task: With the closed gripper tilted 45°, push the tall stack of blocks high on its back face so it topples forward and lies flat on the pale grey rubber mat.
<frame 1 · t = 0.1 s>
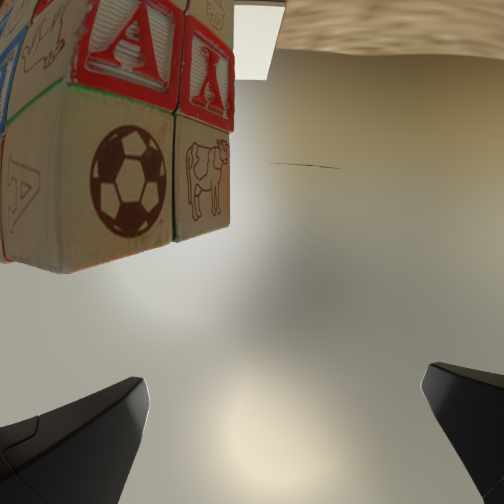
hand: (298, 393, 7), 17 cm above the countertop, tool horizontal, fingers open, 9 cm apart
stack of blocks: (40, 12, 7), on the countertop, touching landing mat
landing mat: (120, 59, 17), on the countertop
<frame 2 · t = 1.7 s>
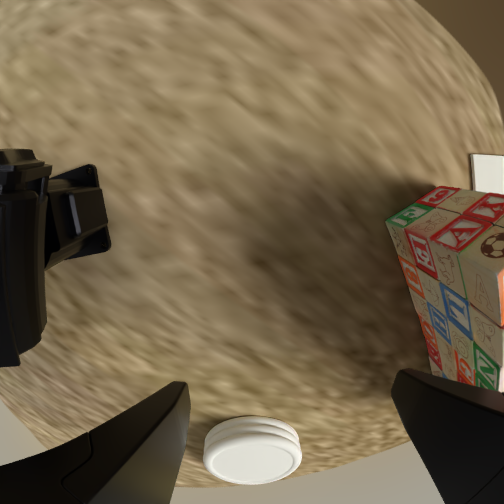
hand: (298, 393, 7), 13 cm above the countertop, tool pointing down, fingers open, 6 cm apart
stack of blocks: (443, 304, 22), on the countertop, touching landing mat
white ridged disc: (251, 440, 26), on the countertop
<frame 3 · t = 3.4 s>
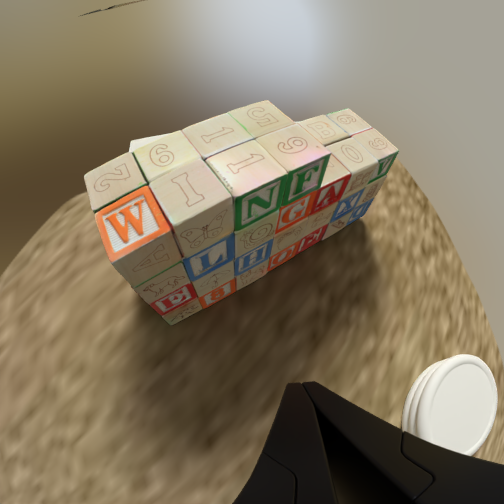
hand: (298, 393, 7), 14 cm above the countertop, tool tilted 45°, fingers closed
stack of blocks: (261, 240, 26), on the countertop, touching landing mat
white ridged disc: (441, 412, 18), on the countertop
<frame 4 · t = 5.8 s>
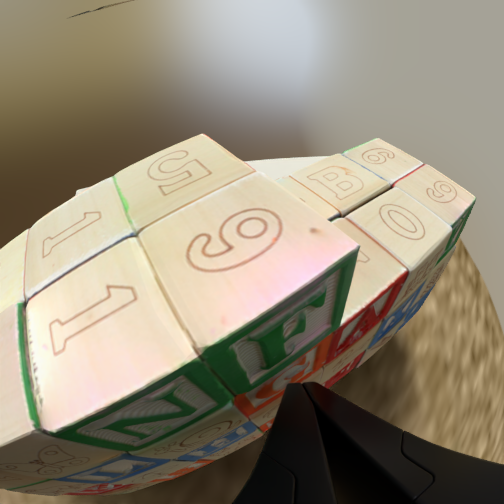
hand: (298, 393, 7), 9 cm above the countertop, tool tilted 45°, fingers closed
stack of blocks: (257, 377, 15), point 1 cm above the countertop, touching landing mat
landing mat: (216, 234, 21), on the countertop
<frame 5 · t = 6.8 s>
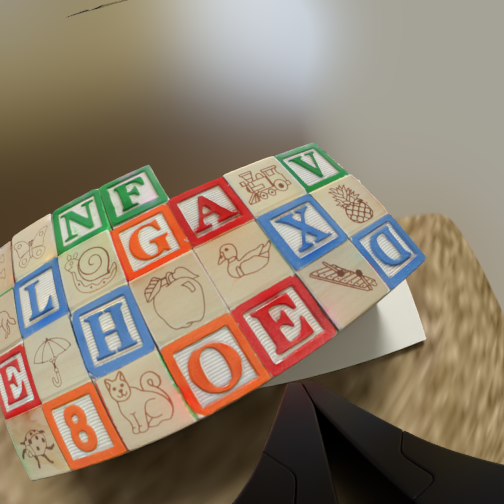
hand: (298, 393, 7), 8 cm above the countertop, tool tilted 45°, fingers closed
stack of blocks: (240, 406, 11), point 3 cm above the countertop, touching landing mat
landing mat: (222, 280, 18), on the countertop
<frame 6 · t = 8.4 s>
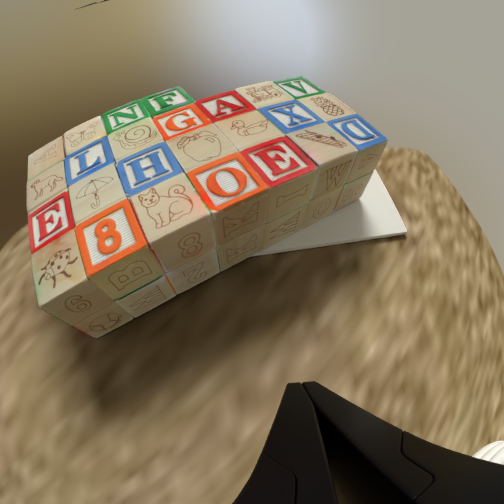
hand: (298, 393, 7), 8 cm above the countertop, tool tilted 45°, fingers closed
stack of blocks: (244, 240, 15), point 3 cm above the countertop, touching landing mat
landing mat: (230, 178, 22), on the countertop
white ridged disc: (475, 496, 9), on the countertop
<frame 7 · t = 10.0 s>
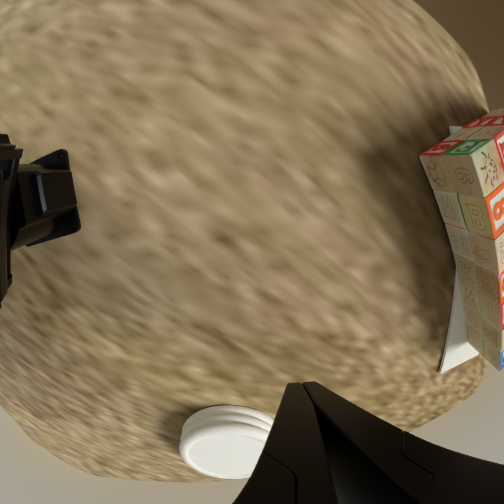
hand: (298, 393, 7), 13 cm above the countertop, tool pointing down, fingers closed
stack of blocks: (474, 279, 18), point 3 cm above the countertop, touching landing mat
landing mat: (497, 253, 21), on the countertop
white ridged disc: (230, 432, 25), on the countertop
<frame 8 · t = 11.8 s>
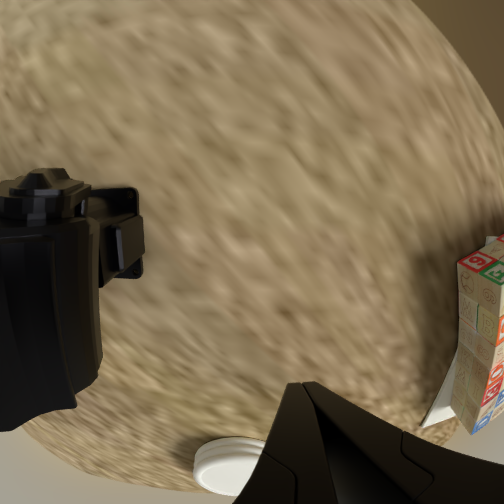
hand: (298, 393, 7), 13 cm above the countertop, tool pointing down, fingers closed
stack of blocks: (469, 366, 20), point 3 cm above the countertop, touching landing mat
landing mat: (492, 339, 24), on the countertop
white ridged disc: (238, 456, 27), on the countertop
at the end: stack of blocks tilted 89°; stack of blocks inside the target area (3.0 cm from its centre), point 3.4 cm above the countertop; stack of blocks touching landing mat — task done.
